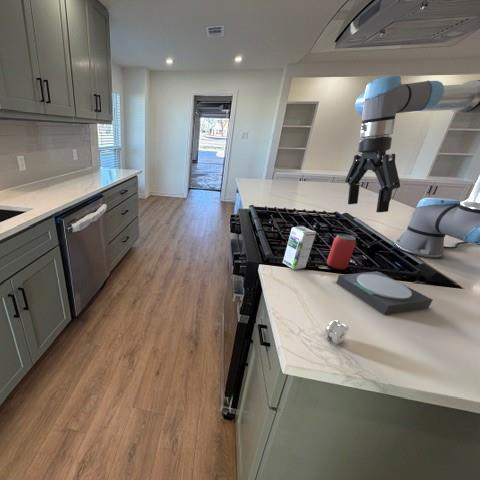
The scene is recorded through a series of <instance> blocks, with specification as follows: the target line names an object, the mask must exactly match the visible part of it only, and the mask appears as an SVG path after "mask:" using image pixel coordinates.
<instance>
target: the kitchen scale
mask: <svg viewBox="0 0 480 480" xmlns="http://www.w3.org/2000/svg"><path fill="white" fill-rule="evenodd" d="M336 284H337V285H338V286H339V287H342V288H343V289H345V290H346V291H348V293H351V294H352V295H353V296H355V297H356V298H358V299H360V300H361V301H363V302H364V303H366V304H367V305H369V306H370V307H372V308H373V309H375V310H376V311H377V312H379V313H381V314H382V315H384V316H385V315H386V316H387V315H392V314H393V315H394V314H399V313H406V312H412V311H419V310H425V309H429V308H430V306H431V304H432V303H433V301H434V300H433V299H432V298H430V297H429V296H427V295H425V294H422V293H420V292H418V291H417V290H415V289H413V288H411V287H409V286H407V285H405V284H403V283H402V282H400V281H397V280H396V279H394V278H392V277H390V276H388V275H386V274H383V273H382V272H380V271H367V272H359V273H358V272H357V273H348V274H339V275H338V277H337V280H336Z"/></svg>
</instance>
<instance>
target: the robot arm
mask: <svg viewBox="0 0 480 480" xmlns="http://www.w3.org/2000/svg"><path fill="white" fill-rule="evenodd" d="M354 110H355V112H356V113H357V114H359V115H362V116H361V126H360V134H359V138H360V140H359V141H358V149H357V151H358V153H361V154H355V155H354V156H353V160H352V164H351V166H350V168H349V171H348V173H347V174H346V178H345V179H344V180H345V181H344V182H345V183H347V184H348V185H349V186H348V198H347V205H358V202H359V193H360V187H361V186H360V184H361V183H360V182H361V180H362V178H363V177H364V176H365V174H366V173H367V172H368V171H372V172H373V173H374V174H375V176H376V178H377V179H376V180H377V181H378V183H379V186H380V189H379V191H378V198H377V204H376V212H375V213H388V212H389V207H390V203H391V200H392V195H393V190H395V189H399V188H401V182H400V177H399V175H398V169H397V164H396V154H395V153H387V151H389V150H390V149H391V148H392V141H393V137H392V136H391V135H393V134H394V131H395V123H396V115H397V114H403V113H404V114H405V113H418V112H419V113H421V112H437V111H438V112H439V111H451V112H453V113H455V114H461V113H467V114H480V79H474V80H473V79H472V80H468V81H465V82H463V83H461V84H447V85H446V84H445V85H444V84H443V83H442V82H441V81H439V80H429V79H428V80H424V81H417V82H410V83H402V76H401V75H398V74H397V75H395V74H394V75H388V76H383V77H380V78H376V79H374V80H371V81H370V82H368V83H367V85H366V87H365V91H364V92H361V94H360V95H359V96H358V97H357V98H356V100H355V103H354ZM446 236H448V237H451V238H453V239H457V240H460V242H459V241H458V242H456V243H455V245H454V246H445V238H446ZM395 244H396V245H397V246H398V247H397V246H396V245H395ZM463 244H471V245H475V246H479V247H480V175H479V176H478V178H477V180H476V182H475V184H474V186H473V189H472V190H471V193H470V195H469V196H468V198H467V199H465V200H460V199H454V198H444V197H443V198H442V197H441V198H440V197H424V198H422V199H420V200H419V202H418V203H417V206H415V209H414V212H413V213H412V216H411V219H410V220H409V223H408V225H407V228H406V230H405V231H404V232H403V233H402V234H401V235H399V237H398V238H397V239H396V240H395V241H394V244H393V246H394V247H395V248H396V249H397V250H399V251H402V252H404V253H406V254H409V255H413V256H417V257H421V258H427V259H440V258H442V256H443V254H444V249H448V250H454V249H458V247H459V245H463ZM399 247H400V248H399Z"/></svg>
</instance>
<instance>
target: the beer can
mask: <svg viewBox="0 0 480 480" xmlns="http://www.w3.org/2000/svg"><path fill="white" fill-rule="evenodd" d="M356 239H357V238H356V237H355V236H353V235H351V234H346V233H338V234H337V235H336V237H335V238H334V239H333V241H332V245H331V247H330V251H329V254H328V256H327V260H326V265H327V266H328V267H331V268H332V269H335V270H347V268H348V266H349V263H350V261H351V258H352V256H353V254H354V250H355V247H356V244H357V243H356V242H357V240H356Z"/></svg>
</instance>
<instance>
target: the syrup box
mask: <svg viewBox="0 0 480 480" xmlns="http://www.w3.org/2000/svg"><path fill="white" fill-rule="evenodd" d="M316 235H317V231H314V230H312V229H310V228H307V227H306V226H294V227H291V230H290V233H289V236H288V241H287V246H286V249H285V251H284V252H285V253H284V257H283V260H282V264H284V265H286V266H287V267H288V268H290V269H292V270H293V271H295V270H301V269H305V268H306V267H307V263H308V261H309V256H310V254H311V250H312V248H313V244H314V240H315V237H316Z"/></svg>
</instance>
